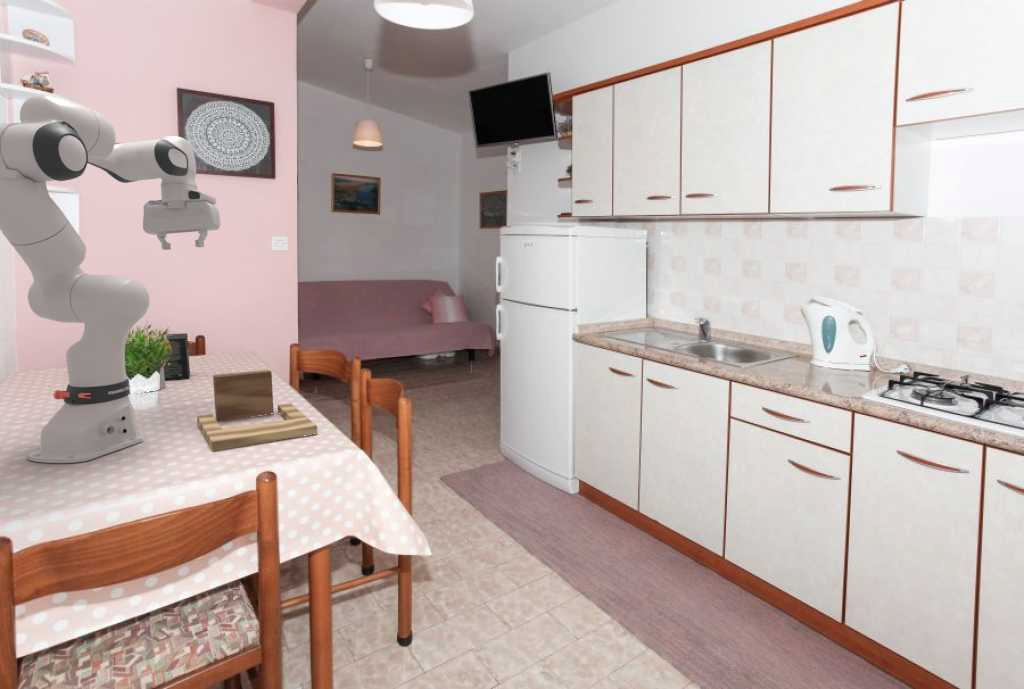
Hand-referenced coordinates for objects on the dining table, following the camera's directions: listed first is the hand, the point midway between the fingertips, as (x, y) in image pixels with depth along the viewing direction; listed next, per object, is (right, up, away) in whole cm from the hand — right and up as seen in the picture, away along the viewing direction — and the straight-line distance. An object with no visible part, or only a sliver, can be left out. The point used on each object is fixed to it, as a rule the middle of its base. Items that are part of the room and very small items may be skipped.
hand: (183, 248), depth 167 cm
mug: (-27, -41, +26) cm, 55 cm away
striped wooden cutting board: (+26, -48, -13) cm, 56 cm away
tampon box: (-27, -38, +44) cm, 64 cm away
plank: (+18, -46, -2) cm, 50 cm away
